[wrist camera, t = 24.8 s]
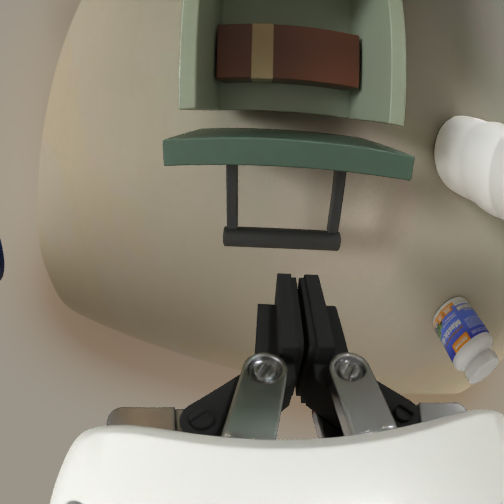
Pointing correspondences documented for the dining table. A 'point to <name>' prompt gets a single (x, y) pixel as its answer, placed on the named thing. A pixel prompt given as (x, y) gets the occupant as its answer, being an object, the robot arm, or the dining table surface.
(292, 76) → the brown banded block
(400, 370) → the dining table surface
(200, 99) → the drawer
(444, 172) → the water bottle
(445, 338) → the pill bottle
